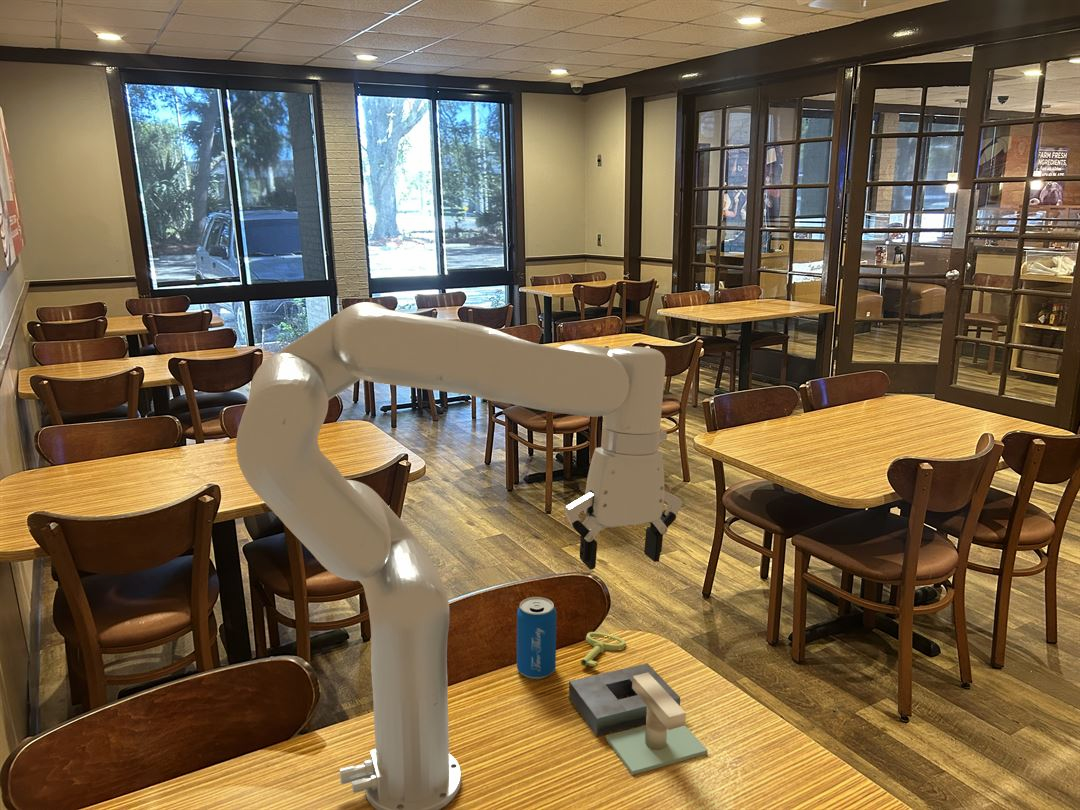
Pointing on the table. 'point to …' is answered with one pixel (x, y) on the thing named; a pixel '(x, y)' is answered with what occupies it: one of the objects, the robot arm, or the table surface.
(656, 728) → the t key
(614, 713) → the lock housing
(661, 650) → the table surface
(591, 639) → the key
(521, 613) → the beverage can
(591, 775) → the table surface
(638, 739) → the mat
